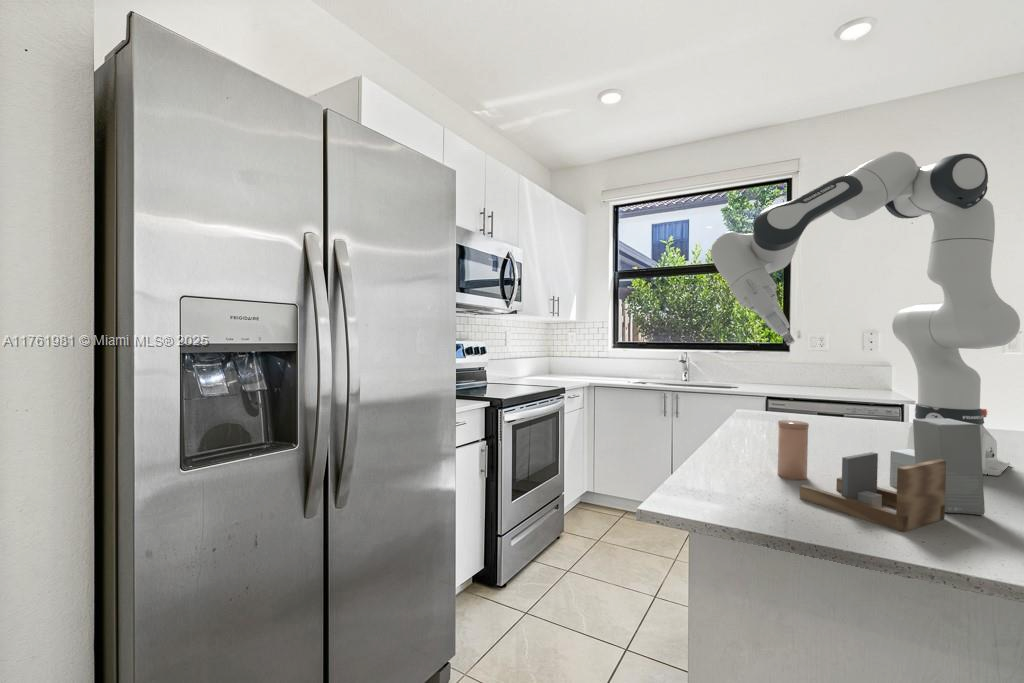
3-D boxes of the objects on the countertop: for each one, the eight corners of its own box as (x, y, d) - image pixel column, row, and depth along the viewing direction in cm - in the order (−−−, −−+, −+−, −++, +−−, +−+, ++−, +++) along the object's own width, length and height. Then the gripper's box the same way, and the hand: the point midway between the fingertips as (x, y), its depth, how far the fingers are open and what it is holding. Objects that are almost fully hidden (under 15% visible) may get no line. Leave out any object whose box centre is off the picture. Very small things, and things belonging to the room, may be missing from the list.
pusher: (870, 499, 92) (871, 452, 92) (891, 505, 89) (892, 456, 89) (841, 507, 88) (842, 457, 88) (861, 513, 85) (862, 462, 85)
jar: (788, 471, 111) (789, 419, 111) (813, 478, 106) (814, 423, 106) (771, 474, 109) (772, 421, 108) (796, 481, 104) (797, 426, 103)
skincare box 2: (985, 516, 84) (988, 425, 84) (938, 513, 86) (940, 423, 86) (952, 500, 93) (954, 416, 92) (909, 497, 94) (911, 415, 94)
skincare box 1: (908, 482, 103) (909, 448, 103) (941, 491, 98) (942, 455, 98) (888, 485, 101) (889, 450, 101) (921, 495, 96) (922, 457, 95)
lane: (840, 489, 99) (841, 439, 98) (944, 518, 83) (946, 460, 83) (799, 498, 93) (800, 446, 93) (903, 531, 78) (904, 469, 77)
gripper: (758, 268, 107) (794, 319, 100) (775, 295, 122) (808, 341, 116) (731, 284, 109) (764, 335, 103) (751, 308, 125) (782, 354, 119)
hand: (787, 338), depth 109 cm, fingers open, 8 cm apart
